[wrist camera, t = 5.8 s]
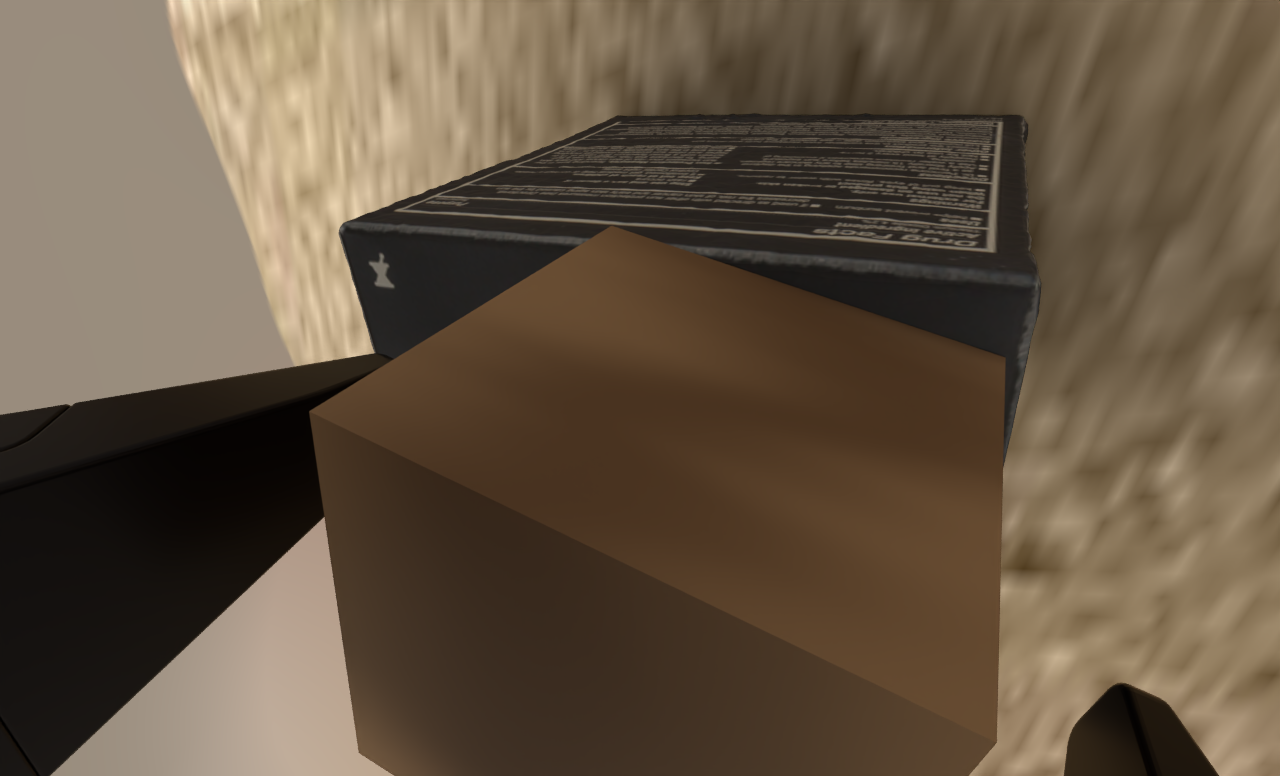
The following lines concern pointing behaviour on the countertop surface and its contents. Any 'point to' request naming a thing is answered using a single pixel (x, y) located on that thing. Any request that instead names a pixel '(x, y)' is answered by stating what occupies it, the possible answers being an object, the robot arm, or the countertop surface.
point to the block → (669, 532)
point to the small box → (736, 221)
